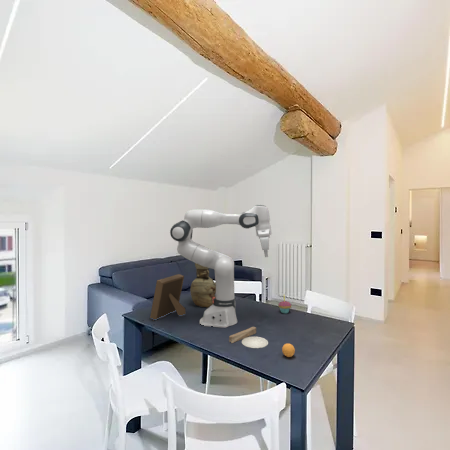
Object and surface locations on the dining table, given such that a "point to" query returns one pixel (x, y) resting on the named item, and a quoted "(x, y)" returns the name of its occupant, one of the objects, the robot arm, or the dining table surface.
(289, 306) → the cupcake
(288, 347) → the ball
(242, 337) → the bar
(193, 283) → the ceramic vessel
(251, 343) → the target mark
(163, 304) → the photo frame
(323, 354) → the dining table surface
